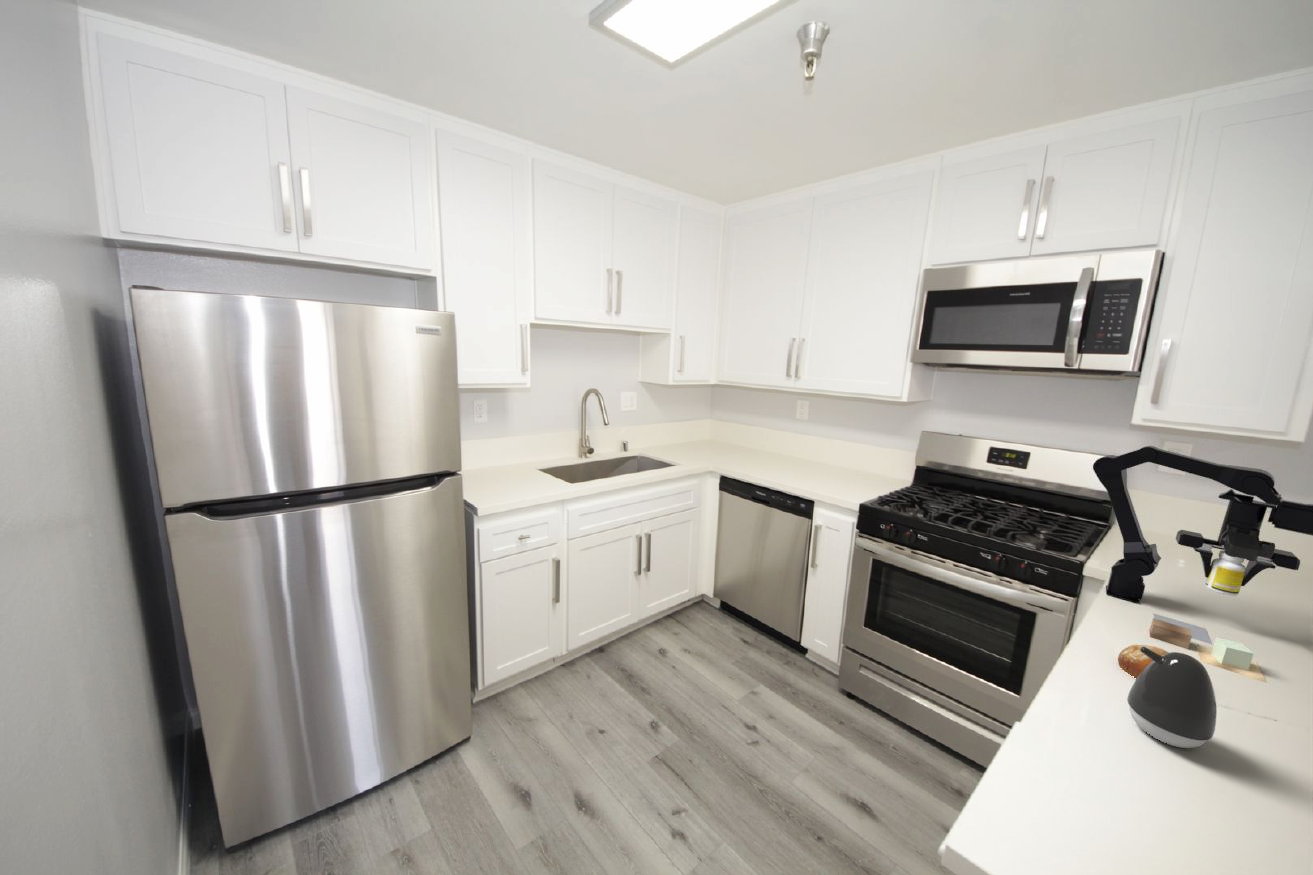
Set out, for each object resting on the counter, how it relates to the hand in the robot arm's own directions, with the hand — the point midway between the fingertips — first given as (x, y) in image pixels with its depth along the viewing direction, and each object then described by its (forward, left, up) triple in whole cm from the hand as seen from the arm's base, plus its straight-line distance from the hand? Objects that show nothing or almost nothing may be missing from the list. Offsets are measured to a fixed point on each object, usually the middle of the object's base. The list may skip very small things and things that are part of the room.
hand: (1223, 581), depth 117 cm
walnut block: (-9, -20, -12) cm, 25 cm away
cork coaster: (0, -22, -12) cm, 25 cm away
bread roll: (-13, -41, -12) cm, 45 cm away
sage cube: (0, -22, -11) cm, 25 cm away
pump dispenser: (-13, -62, -12) cm, 64 cm away
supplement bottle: (0, 0, -3) cm, 3 cm away
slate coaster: (-6, -10, -12) cm, 17 cm away
